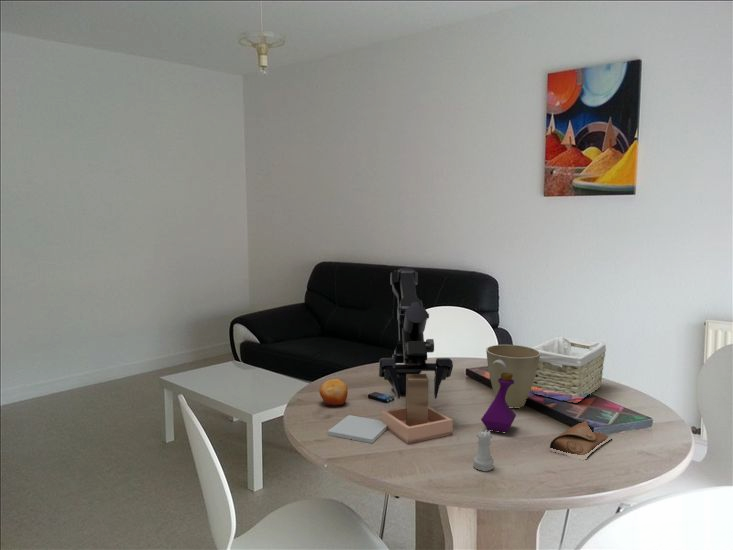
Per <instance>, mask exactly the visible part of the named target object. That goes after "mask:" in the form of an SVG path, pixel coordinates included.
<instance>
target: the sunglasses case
mask: <svg viewBox="0 0 733 550" xmlns="http://www.w3.org/2000/svg"><path fill="white" fill-rule="evenodd" d="M583 420H584V422H582V421H581V422H582V423H580V422H579V423H577V424H575V425H573V426H572V427H570V428H568V429H567V430H565V431H564V432H562V433H561V434H559V435H558V436H556V437H555V438H553V439H552V441H551V442H550V444H549V449H550V448H553V449H556V450H560V451H563V452H566V453H567V452H568V453H571V454H577V455H585V454H587V453H589V452H590V451H591V450H593V449H594V448H595V447H596V446H597V445H599V444H600V443H602V442H603V441H605V440H606V439H607V438H608V437H609V436H608V435H606V434H605V433H604V434H601V433H594V432H592V430H591V429H590V427H589V426H588V424H587V423H588V422H587V420H586V419H583Z"/></svg>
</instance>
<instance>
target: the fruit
mask: <svg viewBox="0 0 733 550" xmlns="http://www.w3.org/2000/svg"><path fill="white" fill-rule="evenodd" d="M318 391H319V394H320V397H321V399H322V400H323V402H324V404H325V405H326V406H342V405H344V404H345V403H346V401H347V398H348V386H347V383H346V382H344V381H343V380H341V379H340V378H331V379H328V380H326V381H325V382H323V383H322V384H321V386H320V387H319V390H318Z"/></svg>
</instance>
